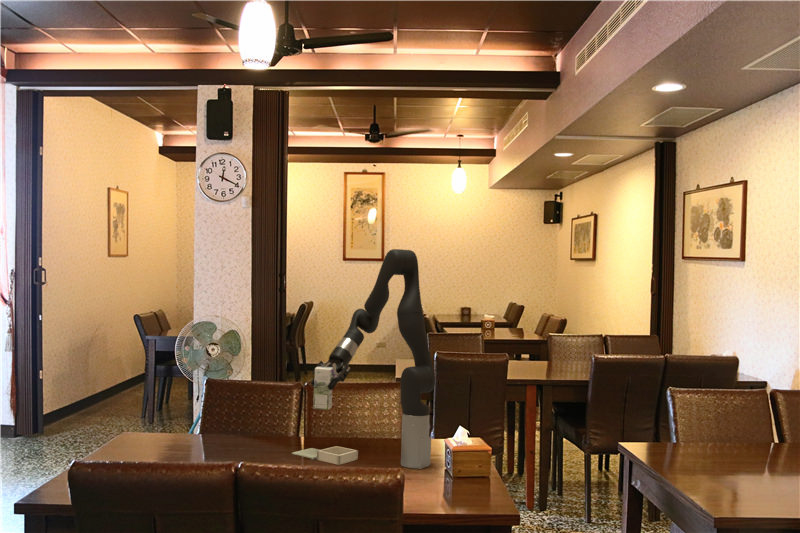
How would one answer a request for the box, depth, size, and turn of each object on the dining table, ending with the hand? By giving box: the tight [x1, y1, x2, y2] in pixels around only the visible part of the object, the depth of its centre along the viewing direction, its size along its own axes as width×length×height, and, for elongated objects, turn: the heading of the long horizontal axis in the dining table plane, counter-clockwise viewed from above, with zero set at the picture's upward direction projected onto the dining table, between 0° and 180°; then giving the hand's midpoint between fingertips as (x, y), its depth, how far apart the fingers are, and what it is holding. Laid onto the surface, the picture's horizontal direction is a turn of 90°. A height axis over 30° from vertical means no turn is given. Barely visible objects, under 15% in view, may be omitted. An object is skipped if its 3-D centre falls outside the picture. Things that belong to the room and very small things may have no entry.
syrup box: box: [312, 366, 334, 411], centre depth 218 cm, size 6×6×14 cm
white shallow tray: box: [291, 445, 359, 466], centre depth 215 cm, size 22×13×3 cm, turn 55°
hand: (320, 387), depth 217 cm, fingers closed on syrup box, 7 cm apart
